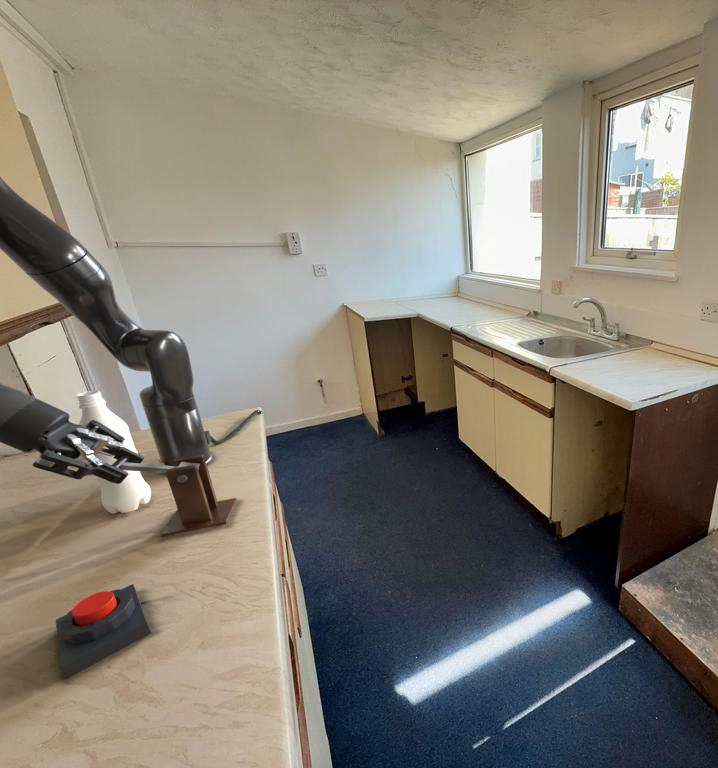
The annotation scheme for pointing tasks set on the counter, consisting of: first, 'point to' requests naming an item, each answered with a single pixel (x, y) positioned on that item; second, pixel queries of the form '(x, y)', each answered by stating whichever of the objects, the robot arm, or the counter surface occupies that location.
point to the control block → (101, 633)
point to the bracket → (195, 498)
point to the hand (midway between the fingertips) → (132, 470)
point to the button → (94, 608)
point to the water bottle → (133, 486)
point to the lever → (146, 466)
